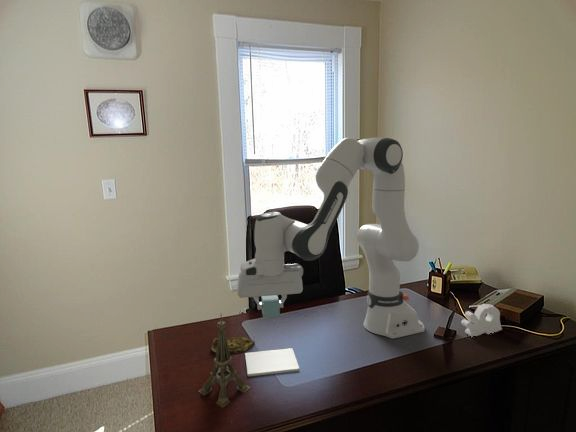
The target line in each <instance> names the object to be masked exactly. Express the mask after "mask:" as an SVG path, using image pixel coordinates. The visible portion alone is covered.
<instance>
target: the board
mask: <svg viewBox="0 0 576 432" xmlns="http://www.w3.org/2000/svg"><path fill="white" fill-rule="evenodd" d="M293 349H294V348H292V347H291V348H290V347H288V348H281V349H271V350H261V351H250V352H245V353H244V356H245V363H246V364H245V365H246V373H247V374H246V375H247V377H257V376H262V375H263V376H267V375H274V374H283V373H284V374H285V373H291V372H300V366H299V363H298V359H297V356H296V355H295V352H294V350H293Z"/></svg>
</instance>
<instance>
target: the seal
mask: <svg viewBox="0 0 576 432" xmlns="http://www.w3.org/2000/svg"><path fill="white" fill-rule="evenodd" d="M226 339H227V344H228V350H229V355H231V354H241V353H243V352H246V351H248V350H249V349H251V348H252V347H253V346H255V340H254V339H250V338H247V337H242V336H239V337H230V338H226ZM217 344H218V337H216V338H215V337H214V339H213V340H212V345H211V351H212V352H214V353H215V354H217Z"/></svg>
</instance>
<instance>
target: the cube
mask: <svg viewBox="0 0 576 432" xmlns="http://www.w3.org/2000/svg"><path fill="white" fill-rule="evenodd" d="M260 297H261V302H262V304H263V309H261V314H262V317H263V319H266V318H267V319H268V318H279V317H281V316H280V314H281V313H280V311H281V308H280V299H279V295H272V296H260Z"/></svg>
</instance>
